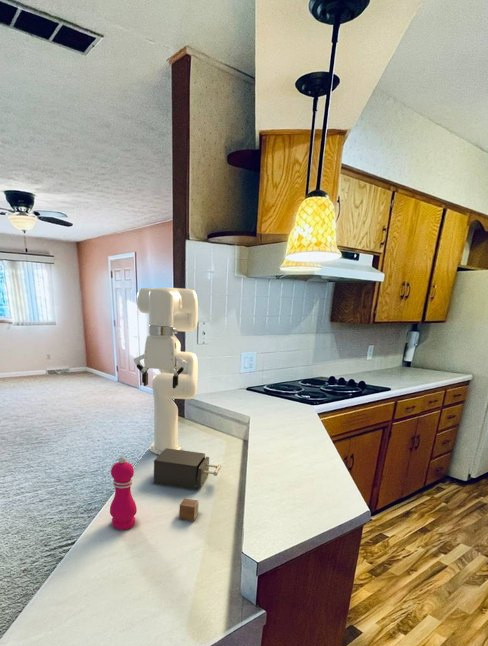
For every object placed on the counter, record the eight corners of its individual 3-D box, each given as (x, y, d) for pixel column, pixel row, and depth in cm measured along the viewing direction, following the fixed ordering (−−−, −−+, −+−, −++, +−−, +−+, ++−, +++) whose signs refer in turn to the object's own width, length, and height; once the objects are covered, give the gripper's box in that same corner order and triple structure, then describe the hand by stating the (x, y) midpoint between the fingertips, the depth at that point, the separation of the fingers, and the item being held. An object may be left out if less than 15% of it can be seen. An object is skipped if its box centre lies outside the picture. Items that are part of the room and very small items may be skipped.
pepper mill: (131, 532, 110) (130, 463, 102) (105, 528, 111) (103, 460, 104) (140, 519, 117) (140, 454, 109) (116, 515, 118) (114, 450, 110)
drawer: (221, 476, 146) (223, 458, 143) (215, 489, 135) (216, 470, 133) (172, 469, 149) (172, 451, 147) (162, 481, 139) (162, 463, 136)
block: (183, 511, 122) (184, 498, 121) (198, 513, 122) (198, 500, 120) (179, 518, 118) (179, 504, 117) (194, 521, 117) (194, 507, 116)
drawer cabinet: (204, 475, 148) (205, 453, 145) (195, 490, 136) (196, 466, 133) (165, 470, 151) (166, 448, 147) (153, 483, 139) (153, 460, 136)
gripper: (190, 333, 131) (188, 386, 137) (137, 329, 132) (137, 382, 139) (186, 334, 124) (184, 390, 130) (130, 330, 125) (131, 386, 132)
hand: (160, 386), depth 134 cm, fingers open, 9 cm apart
